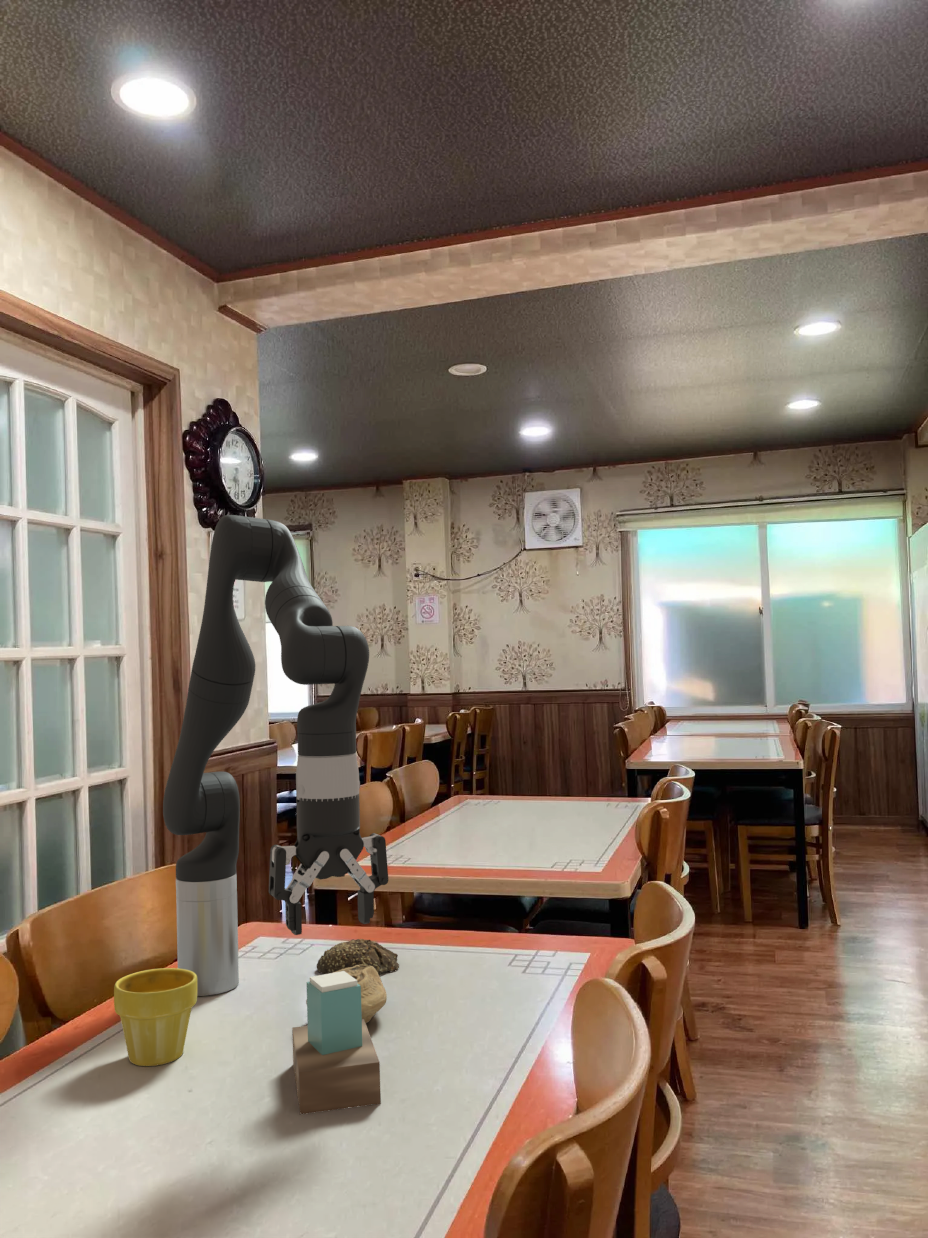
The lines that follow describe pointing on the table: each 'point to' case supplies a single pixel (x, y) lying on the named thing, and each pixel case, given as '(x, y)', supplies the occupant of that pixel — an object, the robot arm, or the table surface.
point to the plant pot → (155, 1013)
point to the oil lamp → (368, 989)
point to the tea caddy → (334, 1012)
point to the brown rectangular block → (335, 1074)
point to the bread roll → (357, 957)
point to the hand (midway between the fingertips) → (330, 928)
